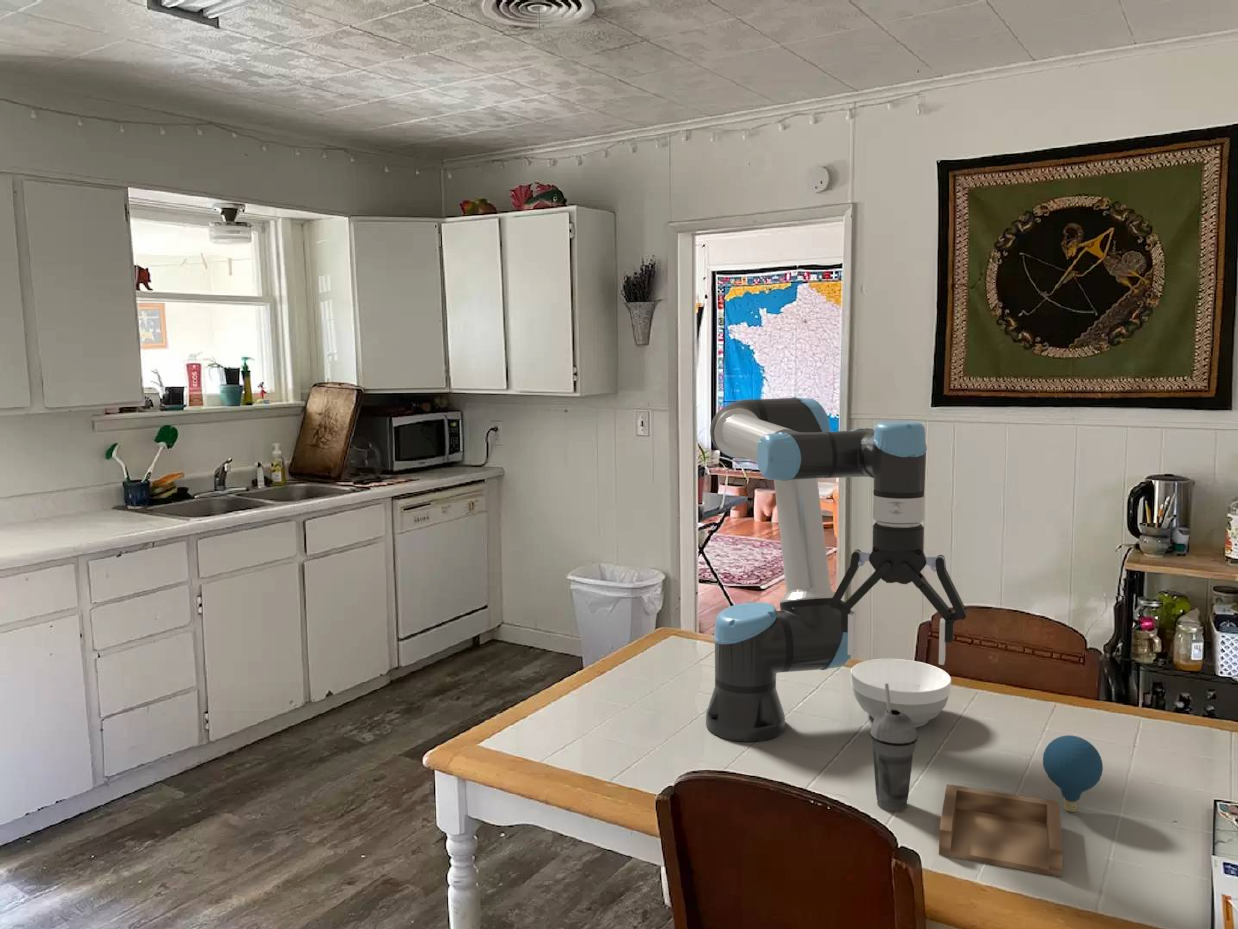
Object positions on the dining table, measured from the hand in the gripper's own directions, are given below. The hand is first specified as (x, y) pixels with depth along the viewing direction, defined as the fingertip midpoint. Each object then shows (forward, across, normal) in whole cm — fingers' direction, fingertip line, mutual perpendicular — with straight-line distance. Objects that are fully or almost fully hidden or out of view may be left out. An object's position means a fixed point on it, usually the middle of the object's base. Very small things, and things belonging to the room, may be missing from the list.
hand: (895, 657), depth 146 cm
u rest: (+24, +16, -5) cm, 30 cm away
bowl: (+24, -3, +37) cm, 45 cm away
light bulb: (+25, +26, +8) cm, 37 cm away
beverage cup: (+25, 0, 0) cm, 25 cm away
